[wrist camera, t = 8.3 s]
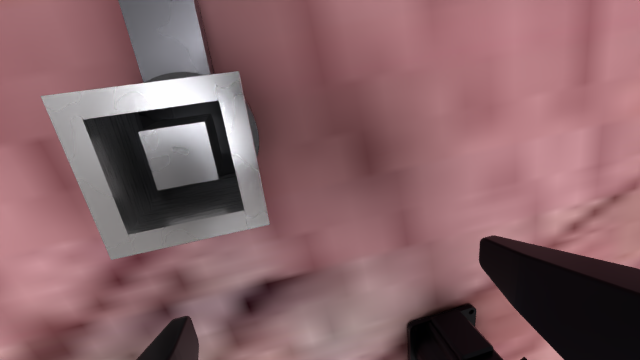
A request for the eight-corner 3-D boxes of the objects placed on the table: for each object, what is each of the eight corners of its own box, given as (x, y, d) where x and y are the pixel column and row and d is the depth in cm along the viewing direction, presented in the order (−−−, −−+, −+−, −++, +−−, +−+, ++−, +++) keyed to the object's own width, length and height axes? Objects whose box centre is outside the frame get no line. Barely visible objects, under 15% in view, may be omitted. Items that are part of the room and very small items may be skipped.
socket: (261, 182, 16) (269, 224, 12) (150, 204, 15) (111, 259, 11) (239, 72, 14) (238, 70, 10) (110, 89, 13) (40, 96, 9)
